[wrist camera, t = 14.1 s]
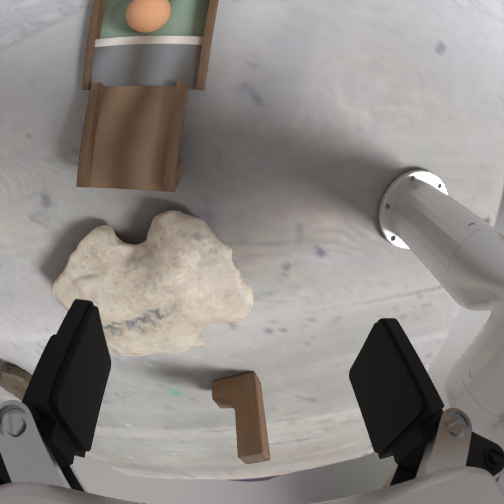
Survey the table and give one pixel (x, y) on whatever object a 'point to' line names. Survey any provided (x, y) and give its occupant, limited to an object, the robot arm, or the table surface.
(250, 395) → the wooden block
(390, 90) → the table surface
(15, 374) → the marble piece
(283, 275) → the table surface
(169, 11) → the ball
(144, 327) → the rock
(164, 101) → the lane
